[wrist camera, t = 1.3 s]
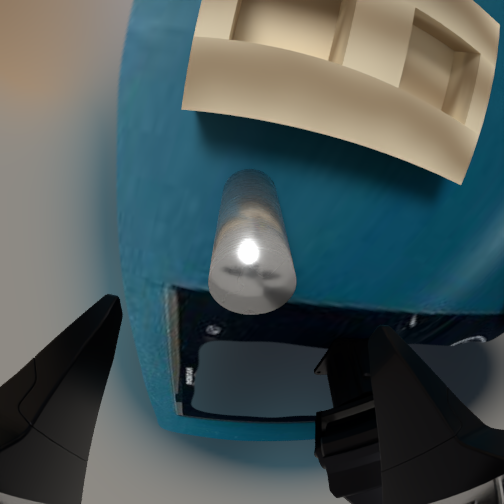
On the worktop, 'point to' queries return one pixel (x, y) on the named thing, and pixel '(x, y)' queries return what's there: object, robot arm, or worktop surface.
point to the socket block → (352, 72)
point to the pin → (251, 247)
